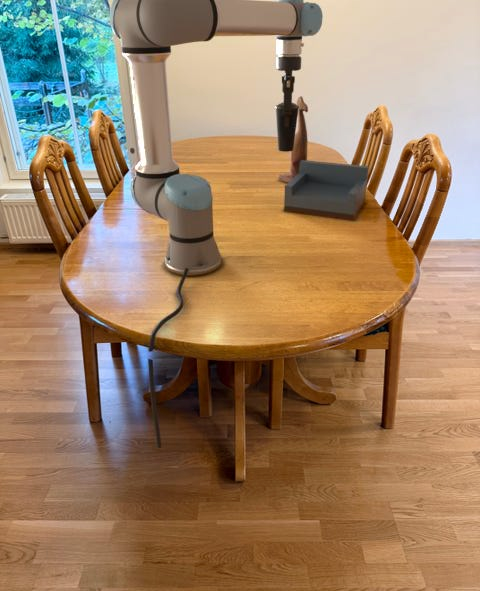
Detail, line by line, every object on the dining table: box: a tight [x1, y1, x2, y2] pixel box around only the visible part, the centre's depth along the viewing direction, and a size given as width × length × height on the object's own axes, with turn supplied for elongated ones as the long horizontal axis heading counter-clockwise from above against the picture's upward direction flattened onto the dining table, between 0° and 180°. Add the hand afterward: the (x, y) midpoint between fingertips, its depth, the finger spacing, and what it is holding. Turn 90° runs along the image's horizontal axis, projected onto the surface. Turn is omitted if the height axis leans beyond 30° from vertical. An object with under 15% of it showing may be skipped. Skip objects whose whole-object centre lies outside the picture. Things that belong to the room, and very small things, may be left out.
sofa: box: [283, 159, 370, 221], centre depth 168 cm, size 19×24×13 cm
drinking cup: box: [274, 102, 299, 153], centre depth 156 cm, size 8×8×20 cm
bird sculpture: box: [278, 95, 309, 184], centre depth 190 cm, size 11×12×32 cm
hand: (286, 134), depth 158 cm, fingers closed on drinking cup, 6 cm apart
